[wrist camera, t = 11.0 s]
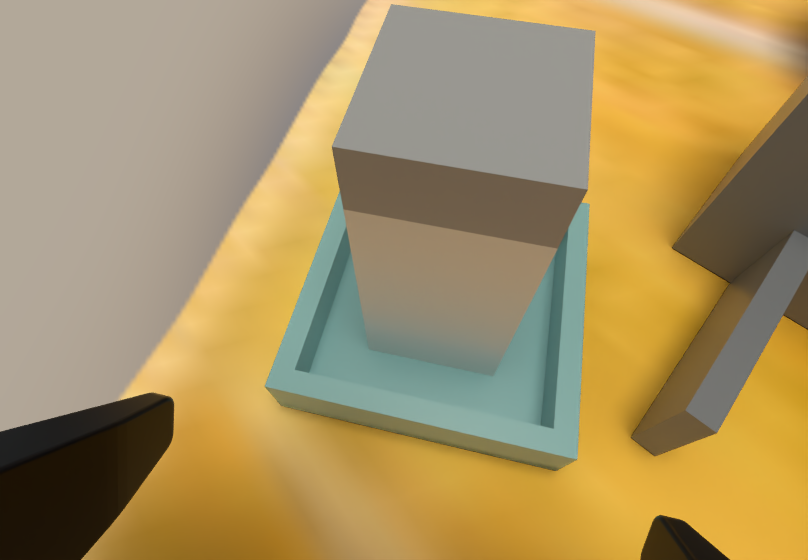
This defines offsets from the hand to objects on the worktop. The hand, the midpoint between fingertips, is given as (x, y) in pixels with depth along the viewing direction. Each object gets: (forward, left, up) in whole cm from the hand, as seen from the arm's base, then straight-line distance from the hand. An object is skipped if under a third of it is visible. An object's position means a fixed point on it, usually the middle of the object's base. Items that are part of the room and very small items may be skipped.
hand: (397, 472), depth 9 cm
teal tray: (+8, +1, -9) cm, 12 cm away
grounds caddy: (+8, +1, -9) cm, 12 cm away
